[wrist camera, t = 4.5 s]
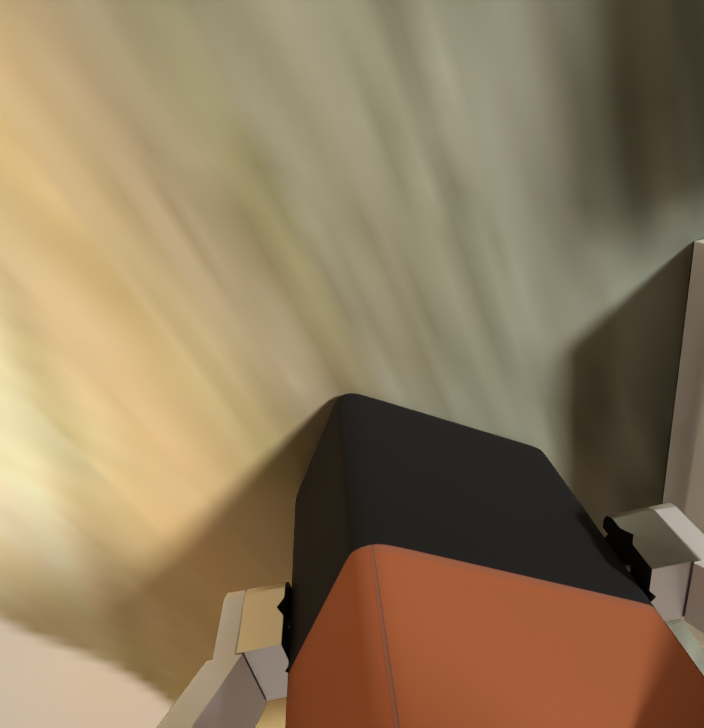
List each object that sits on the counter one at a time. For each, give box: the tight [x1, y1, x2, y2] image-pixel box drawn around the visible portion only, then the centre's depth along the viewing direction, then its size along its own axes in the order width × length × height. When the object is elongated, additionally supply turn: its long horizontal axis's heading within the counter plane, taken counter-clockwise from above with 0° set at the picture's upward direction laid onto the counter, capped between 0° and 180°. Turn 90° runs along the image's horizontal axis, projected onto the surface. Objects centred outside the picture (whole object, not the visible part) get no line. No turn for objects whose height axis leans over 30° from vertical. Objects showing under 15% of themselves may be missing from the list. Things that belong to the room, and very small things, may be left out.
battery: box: [285, 393, 704, 728], centre depth 10 cm, size 4×7×10 cm, turn 69°
